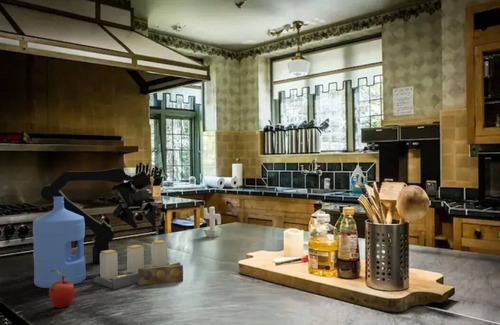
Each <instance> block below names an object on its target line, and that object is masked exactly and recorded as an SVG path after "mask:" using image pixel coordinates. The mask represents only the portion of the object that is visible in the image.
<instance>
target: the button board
mask: <svg viewBox="0 0 500 325" xmlns="http://www.w3.org/2000/svg"><path fill="white" fill-rule="evenodd" d="M173 265H181V262H178V261H177V262H176V261H174V262H168V265H165V266H173ZM147 267H156V266H152V263H151V264H149V265H148V264H146V265H144V268H147ZM93 283H95V284H98V285H102V286H104V287H107V288H110V289H113V290H116V289H119V288H123V287H128V286H131V285H134V284H138V272H137V273H131V272H128V271H127V269H126V270H122V271H119V270H118V276H117V277H116V278H112V279H109V280H108V279H105V278H102V277H100V276H96V277H93Z"/></svg>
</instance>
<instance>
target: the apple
mask: <svg viewBox="0 0 500 325" xmlns="http://www.w3.org/2000/svg"><path fill="white" fill-rule="evenodd" d="M54 271H56V270H50V271H49V272H54ZM56 272H58V273H59V274H60V275H61V273H60V271H56ZM64 277H65V275H63V276H62V280H59V281H56V282H54V283H53V284H52V285H51V287H50V288H48V289H49V290H48V295H49V296H48V297H49V299H50V301H51V303H52V305H53V306H54V307H55V308H58V309H62V308H66V307H68V306H70V305H71V304H72V302H73V299H74V297H75V293H76V289H75V288H76V286H75V285H73V284H72V283H71V282H69V281H67V280H64Z"/></svg>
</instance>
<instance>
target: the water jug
mask: <svg viewBox="0 0 500 325" xmlns="http://www.w3.org/2000/svg"><path fill="white" fill-rule="evenodd" d="M53 198H54V202H53V203H54V204H53V203H52V204H53V209H52V210H50V211H49V212H46V213H45V214H42V215H41V216H39V217H37V218H35V219H34V220H33V221H32V235H33V266H34V268H33V269H34V270H33V271H34V277H33V283H34V286H35V287H37V288H41V289H42V288H43V289H50V287H51V285H52V284H53V283H54V282H56V281H59V280H62V276H63V275H65V277H64V280H67V281H69V282H71V283H72V284H73V285H74V286H75V285H77V284H80V283H82V282H83V281H85V279H87V270H86V257H85V256H84V255H85V250H84V249H85V248H84V246H85V245H84V239H85V232H86V230H85V229H86V225H85V222H84V217H83V216H81V215H78V214H76V213H73V212H71V211H68V210H66V209H65V208H64V201H63V198H64V197H63V196H61V197H53ZM75 241H77V254H73V253H72V242H75ZM50 270H56V271H60V273H61V275H60V274H59V273H58V272H56V271H54V272H49V271H50Z"/></svg>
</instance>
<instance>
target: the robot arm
mask: <svg viewBox="0 0 500 325" xmlns="http://www.w3.org/2000/svg"><path fill="white" fill-rule="evenodd" d="M74 181H78V182H79V181H104V182H109V183H119V184H113V185H112V188H111V191H112V194H119V197H120V198H121V200H122V201H121V202H120V203H119V204H117V206H116V207H115V209H114V210H113V211H112V215H113V218H114V219H118V221H121V222H124V223H125V224H127V225H129V226H130V227H132V228H134V229H138V224H137V222H136V220H135V218H134V216H133V214H132V213H142V214H143V215H144V218H145V219H146V221H148V222H149V223H150V224H151V226H153V227H156V225H157V223H156V222H157V221H156V216H155V215H156V214H155V213H156V211H157V209H158V208H159V207H160V206H159V204H158V202H157V201H148V202H147V203H146V204H145V202H146V200H150V199H151V198H152V196H153V192H152V190H151V189H147V188H148V187H150V186H152V185H153V184H152V181H151V179H150V177H149V175H148V174H147V173H146V171H145V170H141V171H140V172H138V173H136V174H134V175H133V176H132V175H131V174H126V172H125V170H123V169H122V168H119V167H115V168H110V169H104V170H85V171H84V170H83V171H82V170H81V171H79V170H78V171H69V170H65V171H63V172H62V173H61V175H60V176H58V177H57V178H56V179H55V180H54V181H53V182H52V183H51V184H47V185H45V186H44V187H42V188H41V190H40V196H41V197H42V199H43V200H45V201H47V202H49V203H50V204H53V205H54V203H53V202H54V198H53V197H61V196H63V197H64V198H63V201H64V208H65V209H66V210H68V211H71V212H73V213H76V214H78V215H81V216H83V217H84V222H85V227H87V228H88V229H90V231H91V232H92V233H93V234H94V235H95V237H94V238H93V239H92V244H93V245H92V247H91V248H92V250H91V252H92V254H91V255H92V261H91V264H100V253H101V251H106V250H112V248H111V247H110V246H111V245H110V242H112V241H113V240H114V238H115V233H114V230H113V228H112V225H111V224H108V223H107V222H106V221H105V220H104V219H102V221H101V222H100V221H98V220H97V219H95V218H93V217H92V216H91V215H90V214H88V213H87V212H86V211H85V210H83V209H81V208H80V207H79V206H78V205H76V204H75V203H74V202H73V201H71V200H70V199H69V198H68V197H67V196H66V195H65V194H64V193H63V191H61V189H62V188H64V186H66V184H68V183H69V182H74ZM123 181H124V182H123ZM137 190H138V191H137ZM144 204H145V205H144Z"/></svg>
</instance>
